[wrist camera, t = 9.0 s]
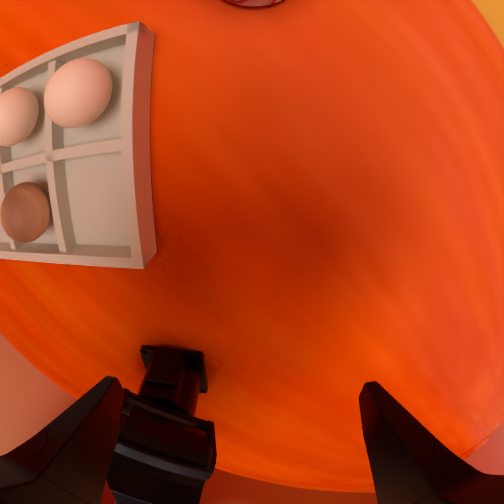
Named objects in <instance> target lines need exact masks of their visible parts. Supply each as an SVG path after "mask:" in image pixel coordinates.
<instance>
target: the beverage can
mask: <svg viewBox="0 0 504 504" xmlns="http://www.w3.org/2000/svg"><path fill="white" fill-rule="evenodd" d="M225 1H228V2H230V3H233V4H237V5H243V6H264V5H270V4H274V3H277V2H279V1H282V0H225Z"/></svg>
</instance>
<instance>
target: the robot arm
mask: <svg viewBox="0 0 504 504" xmlns="http://www.w3.org/2000/svg"><path fill="white" fill-rule="evenodd" d="M140 352H141V355H142V358H143V362H144V365H145V367H146V373H145V376H144V378H143V381H142V384H141V386H140V389H139V392H138V395H137V394H134V393H132V392H130V390H128V389H126V388H124V390H123V388H122V386H121V384H120V382H119V380H118V379H117V378H116V377H112V376H106V377H105V378H103V379H102V380H101V381H100V382H99V383H97V384H96V385H95V386H94V387H93V388H91V389H90V390H89V391H88V392H87V393H85V394H84V395H83V396H82V397H81V398H79V399H78V400H77V401H76V402H75V403H74V404H72V405H71V406H70V407H69V408H67V409H66V410H65V411H64V412H63V413H62V414H60V415H59V416H58V417H57V418H55V419H54V420H53V421H52V422H51V423H49V424H48V425H47V426H46V427H44V428H43V429H42V430H41V431H40V432H38V433H37V434H36V435H34V436H33V437H32V438H30V439H29V440H27V441H26V442H25V443H23V444H21V445H20V446H18V447H17V448H15V449H13V450H12V451H10V452H9V453H7V454H5V455H2V456H0V504H101V500H102V494H103V490H104V485H105V481H106V479H107V483H108V486H109V489H110V490H111V491H112V493H113V496H114V499H115V504H199V502H200V497H201V493H202V489H203V486H204V483H205V481H207V480H208V479H209V478H210V477H211V475H212V473H213V471H214V468H215V464H216V457H217V452H216V441H215V429H214V422H212V421H209V420H208V421H206V420H202V419H199V418H196V417H195V412H196V406H197V400H198V395H199V393H207V390H208V386H207V379H206V371H205V364H204V356H203V354H202V353H201V352H198V351H186V350H176V349H167V348H158V347H150V346H142V347H141V349H140ZM197 356H199V357H197ZM359 405H360V413H361V421H362V430H363V436H364V441H365V445H366V449H367V453H368V458H369V462H370V467H371V471H372V476H373V481H374V486H375V491H376V496H377V502H378V504H504V475H490V474H485V473H482V472H480V471H478V470H477V469H475V468H474V467H472V466H471V465H469V464H468V463H466V462H465V461H464V460H462V459H461V458H459V457H458V456H457V455H455V454H454V453H453V452H452V451H450V450H449V449H448V448H447V447H446V446H445V445H443V444H442V443H441V442H440V441H439V440H438V439H437V438H435V436H434V435H433V434H431V433H430V432H429V431H428V430H427V429H426V428H425V427H424V426H423V425H422V424H421V423H420V422H419V421H418V420H417V419H416V418H415V417H413V416H412V415H411V414H410V413H409V412H408V411H407V410H406V409H405V408H404V407H403V406H402V405H401V404H400V403H399V402H398V401H397V400H396V399H395V398H393V397H392V396H391V395H390V394H389V393H388V392H387V391H386V390H385V389H384V388H383V387H382V386H381V385H380V384H379V383H378V382H376V381H372V382H366V383H365V384H364V386H363V388H362V391H361V393H360V395H359Z"/></svg>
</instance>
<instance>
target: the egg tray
mask: <svg viewBox="0 0 504 504" xmlns="http://www.w3.org/2000/svg"><path fill="white" fill-rule="evenodd" d="M154 38H155V34H154V33H153V32H152V31H151V30H150V29H148V28H147V27H146V26H145V25H144V24H142V23H141V22H140V21H137V22H133V23H129V24H125V25H121V26H117V27H114V28H110V29H107V30H104V31H101V32H98V33H94V34H92V35H89V36H86V37H83V38H80V39H78V40H75V41H72V42H70V43H67V44H65V45H63V46H60V47H58V48H56V49H53V50H51V51H49V52H47V53H45V54H43V55H41V56H39V57H37V58H35V59H33V60H31V61H29V62H27V63H25V64H23V65H22V66H20V67H18V68H16V69H15V70H13V71H11V72H9V73H8V74H6V75H5V76H3V77H1V78H0V95H1V94H2V93H4V92H5V91H7V90H9V89H11V88H15V87H24V88H27V89H29V90H30V91H32V92H33V94H34V95H35V96H36V98H37V101H38V105H39V114H38V119H37V122H36V125H35V127H34V129H33V130H32V132H31V133H30V134H29V136H28V137H27V138H26V139H25V140H23V141H22V142H20V143H19V144H17V145H14V146H9V147H4V146H0V211H1V205H2V202H3V199H4V198H5V196H6V194H7V193H8V191H9V190H10V189H11V188H13V187H14V186H15V185H17V184H19V183H22V182H33V183H36V184H38V185H40V186H41V187H42V188H43V189H44V190H45V191H46V193H47V194H48V196H49V199H50V203H51V210H52V212H51V219H50V222H49V225H48V227H47V229H46V231H45V232H44V233H43V234H42V235H41V236H40V237H39V238H38V239H36V240H35V241H32V242H29V243H20V242H16V241H14V240H13V239H11V238H10V237H9V236H8V235H7V234H6V232H5V231H4V229H3V226H2V223H1V217H0V258H2V259H12V260H23V261H35V262H47V263H59V264H73V265H87V266H101V267H117V268H133V269H144V268H145V267H146V266H147V264H148V263H149V261H150V260H151V259H152V257H153V256H154V255H155V253H156V252H157V245H156V236H155V226H154V215H153V202H152V186H151V165H150V94H151V74H152V60H153V48H154ZM79 58H90V59H95V60H97V61H99V62H101V63H102V64H103V65H104V66H105V67H106V68H107V69H108V71H109V73H110V75H111V78H112V84H113V88H112V95H111V98H110V101H109V103H108V105H107V107H106V108H105V110H104V111H103V112H102V113H101V114H100V115H99V116H98V117H97V118H96V119H95V120H94V121H92V122H90V123H89V124H87V125H84V126H81V127H77V128H66V127H62V126H59V125H57V124H56V123H54V122H53V121H52V120H51V119H50V118H49V116H48V115H47V113H46V110H45V107H44V92H45V89H46V86H47V83H48V81H49V80H50V78H51V77H52V75H53V74H54V73H55V72H56V71H57V70H58V69H59V68H60V67H61V66H63V65H64V64H66V63H68V62H70V61H72V60H75V59H79Z"/></svg>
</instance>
